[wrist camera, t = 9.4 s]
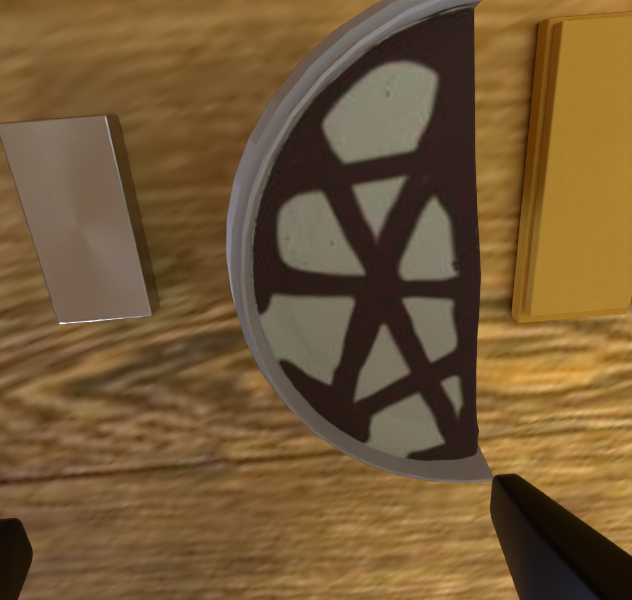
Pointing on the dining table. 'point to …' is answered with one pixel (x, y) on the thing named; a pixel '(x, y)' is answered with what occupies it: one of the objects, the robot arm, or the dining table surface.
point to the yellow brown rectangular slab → (578, 173)
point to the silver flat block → (82, 216)
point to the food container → (370, 241)
